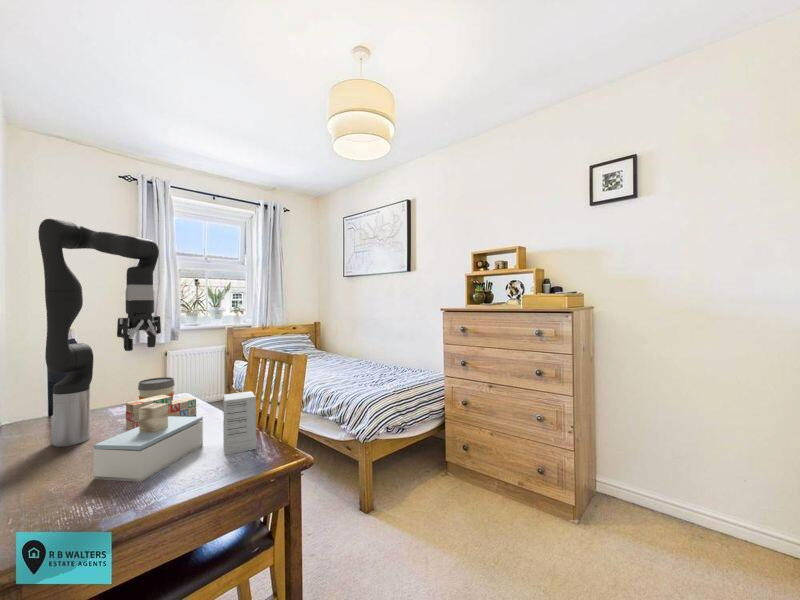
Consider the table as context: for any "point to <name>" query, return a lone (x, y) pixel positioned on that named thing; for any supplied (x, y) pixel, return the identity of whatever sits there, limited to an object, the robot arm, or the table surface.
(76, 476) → the table surface
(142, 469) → the storage box
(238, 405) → the supplement box
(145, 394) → the reusable coffee cup
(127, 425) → the stack of blocks
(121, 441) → the box lid
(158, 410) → the beech block
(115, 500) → the table surface
